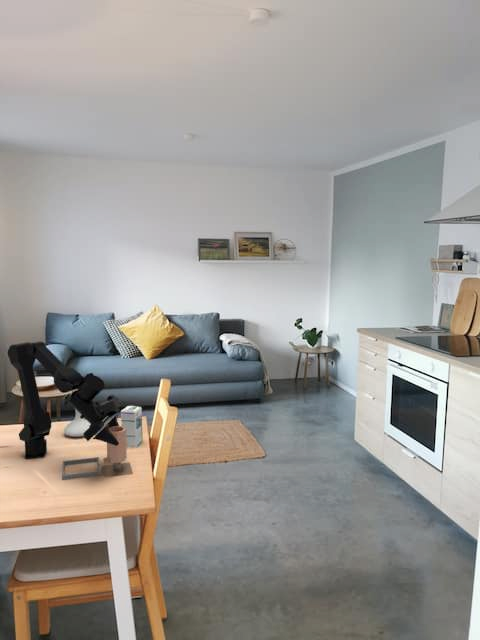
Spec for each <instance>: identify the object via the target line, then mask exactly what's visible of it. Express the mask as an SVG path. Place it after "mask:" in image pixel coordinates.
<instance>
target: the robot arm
mask: <svg viewBox="0 0 480 640" xmlns="http://www.w3.org/2000/svg"><path fill="white" fill-rule="evenodd" d="M7 356H8V359H9V362H10V364H11V365H12V366H13V367H14V368H15V370H16V371H17V374H18V378H19V383H20V388H21V392H22V397H23V402H24V407H25V409H26V410H25V411H26V412H25V415H24V418H23V422H22V423H23V428H22V429H21V430H20V432H19V433H18V437H19V440H20V441H23V442H24V459H35V458H45V457H46V454H47V453H48V445H47V444H48V442H47V438H45V437H46V436H49V435H50V433H51V429H52V424H53V422H52V419H51V414H50V412H49V411H46V410H45V409H44V408H43V407H42V403H41V399H40V392H39V389H38V384H37V380H36V375H35V371H34V365H35V363H36V360H37V361H38V363H40V365H41V366H42V367H43V368H44V369H45V370H46V371H47V372H48V373H49V374H50V375H51V376H52V378H53V384H54V386H55V387H56V388H57V389H58V391H59V392H60V393H62V394H65V393H67V394H68V395H67V394H66V395H67V396H66V395H65V396H66V397H65V396H63V398H64V399H63V400H64V406H66V407H67V406H68V405H69V404H70V405H71V406H72V407H73V408H74V410H75V409H76V410H77V411H78V412H79V413H80V414H81V416H80V418H81V419H83V418H84V419H85V420H86V421H88V422H89V423H90V424H91V425H90V426H89V428H88V429H87V430H86V431H85V432H84V436H83V438H84V439H85V440H86V441H87V442H89V441H90V440H91V439H92V440H97V441H101V442H104V443H106V444H107V443H110V444H112V445H115V446H117V445H118V444H119V442H118V441H117V440H116V438H115V437H114V436H113V435H112V433H111V432H110V431H109V427H114V426H120V423H119V421H118V417H119V413H118V412H119V411H121V410H120V407H121V405H120V403H119V401H120V398H119V397H117V396H116V395H114V394H110V395H108V396H107V397H106V400H105V401H103V402H101V401H100V400H96V401H95V400H94V399H95V398H96V397H97V396H98V395H99V394H100V393H101V392H102V391H103V390H104V388H105V382H104V380H103V379H102V378H100V377H99V376H97V375H94V373H93V372H90V373H86V375H85V376H83V375H81V373H80V372H78V371H77V370H76V369H74V368H72V367H69V366H66V365H65V364H64V363H63V362H62V361H61V360H60V359H59V358H58V357H57V356H56V355H55V354H54V353H53V352H52V351H51V350H50V349H49V348H48V347H47V345H46V343H45V342H43V341H35V342H34V341H33V342H29V341H26V342H21V343H16V344H11V345H10V346H9V348H8V349H7ZM72 391H73V393H72ZM69 393H72V394H69Z"/></svg>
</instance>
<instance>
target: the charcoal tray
mask: <svg viewBox="0 0 480 640" xmlns="http://www.w3.org/2000/svg"><path fill="white" fill-rule="evenodd" d="M88 463H89V464H90V463H97V469H98V470H94V471H88V472H80V473H79V472H78V473H71V474H65V466H71V465H79V464H88ZM61 471H62V472H61V475H62V477H61V481H66V480H73V479H74V480H76V479H82V478H91V477H99V476H100V477H101V475H102V474H101V473H102V472H101V471H102V470H101V465H100V457H98V456H97V457H88V458H86V457H85V458H79V459H70V460H63V461H62V470H61Z"/></svg>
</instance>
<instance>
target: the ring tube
mask: <svg viewBox="0 0 480 640" xmlns="http://www.w3.org/2000/svg"><path fill="white" fill-rule="evenodd" d="M109 431H110V432H111V433H112V435H113V436H114V437H115V438H116V440H117V441H118V442H119V444H118V445H117V446H115V445H112V444H110V443H107V442H106V455H107V456H106V457H104V458H103V462H104V463H105V464H107V463H111V464H113V463H119V462H121V463H124V462H125V461H126V460H127V455H128V454H127V451H128V450H127V448H128V447H126V428H125V427H123V426H121V425H119V426H114V427H109Z"/></svg>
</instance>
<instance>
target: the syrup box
mask: <svg viewBox="0 0 480 640" xmlns="http://www.w3.org/2000/svg"><path fill="white" fill-rule="evenodd" d="M142 410H143V408H142V406H138V405H127V406H126V407H125V408H123V409H122V410H120V421H121V422H120V424H121V425H120V426H123V427H125V428H126V447H127V448H138V447H139V446H140V445H141V444H143V442H144V441H143V440H144V439H143V412H142Z"/></svg>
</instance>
